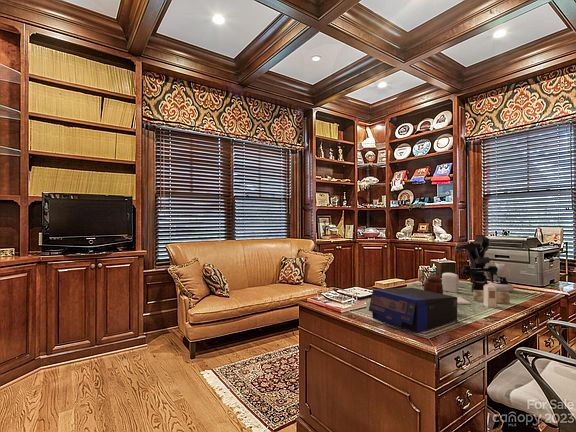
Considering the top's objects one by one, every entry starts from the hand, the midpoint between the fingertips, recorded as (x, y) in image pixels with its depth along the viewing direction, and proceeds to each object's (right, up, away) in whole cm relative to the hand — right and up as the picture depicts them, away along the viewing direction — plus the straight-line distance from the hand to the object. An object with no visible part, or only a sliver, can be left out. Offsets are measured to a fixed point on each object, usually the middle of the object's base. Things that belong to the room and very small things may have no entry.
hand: (484, 282), depth 182 cm
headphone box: (-53, -12, -29) cm, 62 cm away
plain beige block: (-1, -12, -6) cm, 13 cm away
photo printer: (-5, -12, +28) cm, 31 cm away
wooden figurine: (-34, -12, -11) cm, 38 cm away
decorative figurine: (+31, -12, +32) cm, 47 cm away
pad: (-15, -12, +4) cm, 19 cm away
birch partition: (+6, -12, +3) cm, 14 cm away
